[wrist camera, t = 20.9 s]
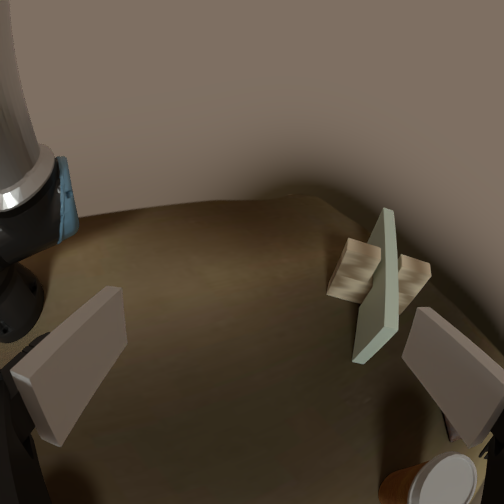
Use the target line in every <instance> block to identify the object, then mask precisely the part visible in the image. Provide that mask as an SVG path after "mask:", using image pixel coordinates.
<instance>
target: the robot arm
mask: <svg viewBox="0 0 504 504" xmlns="http://www.w3.org/2000/svg"><path fill="white" fill-rule="evenodd" d="M78 229H79V219H78V214H77V210H76V205H75V201H74V196H73V191H72V186H71V180H70V174H69V169H68V163H67V158H66V157H65V156H61V157H56V158H55V157H54V154H53V152H52V150H51V149H50V148H49V147H48V146H46V145H44V144H39V143H38V142H37V139H36V136H35V133H34V130H33V126H32V123H31V120H30V116H29V113H28V109H27V106H26V102H25V98H24V94H23V90H22V85H21V81H20V76H19V72H18V66H17V61H16V56H15V49H14V43H13V35H12V27H11V17H10V4H9V0H0V342H2V343H11V342H14V341H17V340H19V339H20V338H22V337H23V336H25V335H26V334H27V333H28V332H29V331H30V330H31V329H32V327H33V326H34V325H35V323H36V321H37V320H38V318H39V315H40V313H41V310H42V307H43V301H44V293H43V288H42V285H41V283H40V282H39V280H38V279H37V277H36V276H35V275H34V274H33V273H32V272H31V271H30V270H29V269H27V268H26V267H24V266H23V265H21V264H20V263H19V261H21V260H23V259H25V258H27V257H29V256H32V255H34V254H36V253H38V252H40V251H43V250H45V249H47V248H50V247H52V246H54V245H56V244H60V243H61V241H63V240H65V239H67V238H69V237H71V236H73V235H74V234H75V233H76V232H77V231H78ZM127 344H128V343H127V335H126V326H125V316H124V305H123V292H122V288H120V287H113V286H106V287H104V288H103V289H102V290H101V291H100V292H98V293H97V294H96V295H95V296H93V297H92V298H91V299H90V300H89V301H87V302H86V303H85V304H84V305H82V306H81V307H80V308H79V309H78V310H77V311H75V312H74V313H73V314H72V315H71V316H69V317H68V318H67V319H66V320H65V321H64V322H62V323H61V324H60V325H59V326H58V327H57V328H56V329H54V330H53V331H52V332H51V333H50V332H47V333H45V334H43V335H41V336H39V337H37V338H36V339H34V340H33V341H32V342H31V343H30V344H29V346H26V347H25V348H24V349H23V350H22V352H20V353H19V354H17V355H16V356H15V357H14V358H13V359H12V360H11V361H10V362H9V363H7V364H6V365H5V366H4V367H3V368H2V369H1V370H0V504H52V503H51V500H50V497H49V495H48V492H47V489H46V485H45V482H44V479H43V475H42V472H41V468H40V465H39V461H38V457H37V453H36V448H35V444H34V440H33V438H32V435H31V434H30V433H31V432H32V430H33V429H34V428H35V427H36V429H37V431H38V433H39V435H40V437H41V438H42V439H43V440H45V441H47V442H49V443H52V444H54V445H56V446H59V447H61V446H62V444H63V443H64V441H65V439H66V438H67V436H68V434H69V433H70V431H71V429H72V428H73V426H74V425H75V423H76V421H77V420H78V418H79V416H80V415H81V413H82V412H83V410H84V409H85V407H86V405H87V404H88V402H89V401H90V399H91V398H92V396H93V394H94V393H95V391H96V390H97V388H98V387H99V385H100V384H101V382H102V381H103V379H104V378H105V376H106V375H107V373H108V372H109V370H110V369H111V367H112V366H113V364H114V363H115V361H116V360H117V358H118V357H119V355H120V354H121V352H122V351H123V349H124V348H125V346H126V345H127ZM402 359H403V360H404V361H405V363H406V364H407V365H408V366H409V368H410V369H411V370H412V372H413V373H414V374H415V375H416V377H417V378H418V379H419V381H420V382H421V383H422V385H423V386H424V387H425V389H426V390H427V391H428V393H429V394H430V395H431V397H432V398H433V399H434V401H435V402H436V403H437V405H438V406H439V408H440V409H441V410H442V412H443V413H444V414H445V416H446V417H447V419H448V420H449V421H450V423H451V424H452V426H453V427H454V428H455V430H456V431H457V433H458V434H459V435H460V437H461V438H462V440H463V441H464V443H465V444H466V446H467V447H468V449H469V448H471V447H473V446H476V445H478V444H480V443H482V442H483V440H484V439H485V437H486V436H487V435H488V433H489V432H490V431H491V432H492V433H493V437H492V438H491V439H490V441H489V442H488V443H487V445H486V446H485V447H484V449H483V450H482V451H481V453H480V455H479V457H480V458H481V457H482V455H483V454H484V453H485V452H487V451H488V453H487V455H486V456H485V457H484V459H487V468H486V476H485V483H484V489H483V495H482V500H481V504H504V369H503V368H501V367H500V366H499V365H498V364H497V363H496V362H495V361H494V360H492V359H491V358H490V357H489V356H488V355H487V354H486V353H484V352H483V351H482V350H481V349H480V348H479V347H478V346H476V345H475V344H474V343H473V342H472V341H470V340H469V339H468V338H467V337H466V336H464V335H463V334H462V333H461V332H460V331H458V330H457V329H456V328H455V327H454V326H452V325H451V324H450V323H449V322H447V321H446V320H445V319H444V318H442V317H441V316H440V315H439V314H437V313H436V312H435V311H434V310H432V309H431V308H430V307H417V310H416V314H415V317H414V321H413V324H412V327H411V331H410V334H409V337H408V340H407V343H406V346H405V349H404V352H403V355H402Z"/></svg>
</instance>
